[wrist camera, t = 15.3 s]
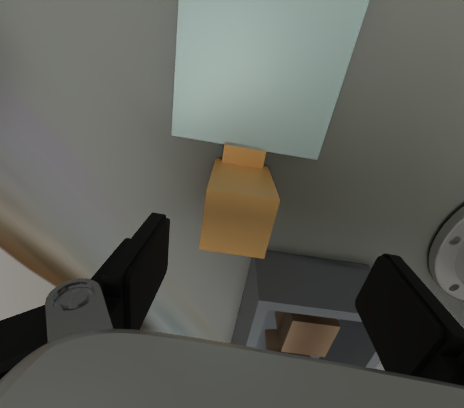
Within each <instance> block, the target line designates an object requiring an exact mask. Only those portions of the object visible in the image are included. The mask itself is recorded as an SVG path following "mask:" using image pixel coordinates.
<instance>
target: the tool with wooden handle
mask: <svg viewBox="0 0 464 408" xmlns="http://www.w3.org/2000/svg"><path fill="white" fill-rule="evenodd" d="M368 3H369V0H179V5H178V24H177V43H176V61H175V80H174V98H173V117H172V136H178V137H184V138H190V139H196V140H202V141H208V142H214V143H220V144H224V151H223V158H222V159H219V158H216V159H215V163H214V166H213V169H212V173H211V176H210V179H209V183H208V186H207V190H206V198H205V206H204V214H203V222H202V229H201V237H200V245H199V250H206V251H213V252H220V253H227V254H234V255H240V256H247V257H254V258H261V259H264V258H265V254H266V250H267V247H268V243H269V240H270V236H271V233H272V229H273V225H274V222H275V218H276V215H277V211H278V207H279V204H280V198H279V195H278V192H277V190H276V187H275V184H274V182H273V179H272V176H271V173H270V171H269V168H268V167H267V166H263V165H264V160H265V156H266V152H273V153H279V154H284V155H290V156H296V157H302V158H308V159H314V160H318V157H319V154H320V151H321V147H322V144H323V141H324V138H325V135H326V132H327V129H328V126H329V123H330V120H331V117H332V114H333V111H334V108H335V105H336V102H337V98H338V95H339V92H340V89H341V86H342V83H343V80H344V77H345V74H346V71H347V68H348V65H349V62H350V59H351V56H352V52H353V49H354V46H355V43H356V40H357V37H358V34H359V31H360V28H361V25H362V22H363V19H364V16H365V13H366V10H367V7H368Z"/></svg>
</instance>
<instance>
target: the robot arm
mask: <svg viewBox="0 0 464 408" xmlns="http://www.w3.org/2000/svg"><path fill="white" fill-rule="evenodd" d="M169 228H170V219H168V218H166V215H164V214H158V213H151V215H150V216H149V217H148V218H147V220H146V221H145V222H144V223H143V224H142V226H141V227H140V228H139V229H138V231H137V232H136V233H135V234H134V236H133V237H132V238H131V239H130V238H126V239H125V240H123V242H122V243H121V244H120V245H119V246H118V247H117V249H116V250H115V251H114V252H113V253H112V255H111V256H110V257H109V258H108V259H107V260H106V262H105V263H104V264H103V265H102V266H101V267H100V269H99V270H98V271H97V272H96V273H95V275H94V276H93V277H92V278H91V279H82V278H79V279H74V280H70V281H67V282H64V283H62V284H61V285H59V286H57V287H56V288H54V289H53V290H52V291H51V292H50V293H49V295H48V297H47V298H46V302H45V305H43V306H41V307H38V308H35V309H32V310H30V311H27V312H24V313H21V314H18V315H15V316H12V317H10V318H7V319H4V320H1V321H0V408H464V329H463V328H462V326H461V325H460V324H459V323H458V322H457V321H456V320H455V319H454V317H453V316H452V315H451V314H450V313H449V312H448V311H447V309H446V308H445V307H444V306H443V305H442V304H441V303H440V301H439V300H438V299H437V298H436V297H435V296H434V295H433V293H432V292H431V291H430V290H429V289H428V288H427V287H426V286H425V284H424V283H423V282H422V281H421V280H420V279H419V278H418V276H417V275H416V274H415V273H414V272H413V271H412V270H411V268H410V267H409V266H408V265H407V264H406V263H405V262H404V260H403V259H402V258H401V257H400V256H396V255H391V254H383V255H381V256H379V257H378V258H377V259H376V261H375V263H374V265H373V267H372V269H371V271H370V273H369V274H368V276H367V278H366V280H365V282H364V284H363V286H362V288H361V290H360V292H359V294H358V296H357V298H356V300H355V307H356V310H357V312H358V314H359V316H360V318H361V321H362V323H363V325H364V327H365V329H366V331H367V333H368V335H369V338H370V340H371V342H372V344H373V346H374V348H375V350H376V352H377V355H378V357H379V359H380V361H381V363H382V365H383V367H384V369H385V371H383V370H378V369H372V368H367V367H361V366H356V365H350V364H344V363H339V362H333V361H328V360H322V359H316V358H311V357H305V356H299V355H294V354H288V353H282V352H276V351H271V350H265V349H259V348H253V347H247V346H242V345H236V344H230V343H224V342H218V341H212V340H206V339H200V338H194V337H187V336H181V335H174V334H168V333H161V332H154V331H144V330H140V327H141V325H142V323H143V321H144V319H145V317H146V315H147V313H148V310H149V308H150V306H151V304H152V302H153V300H154V298H155V295H156V293H157V291H158V289H159V287H160V285H161V283H162V281H163V278H164V276H165V274H166V271H167V265H168V246H169ZM429 270H430V272H431V275H432V277H433V279H434V280H435V281H436V283H437V284H438V285H439V286H440V287H441V288H442V289H443V290H444V291H445V292H446V293H448V294H449V295H451V296H453V297H455V298H457V299H460V300H463V301H464V206H463V207H462V208H460V209H459V210H458V211H457V212H456V213H454V214H453V216H452V217H451V218H450V219H449V220H448V221H447V222H446V223H445V224H444V225H443V227H442V228H441V230H440V231H439V233H438V234H437V236H436V237H435V240H434V242H433V244H432V246H431V249H430V254H429Z"/></svg>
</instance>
